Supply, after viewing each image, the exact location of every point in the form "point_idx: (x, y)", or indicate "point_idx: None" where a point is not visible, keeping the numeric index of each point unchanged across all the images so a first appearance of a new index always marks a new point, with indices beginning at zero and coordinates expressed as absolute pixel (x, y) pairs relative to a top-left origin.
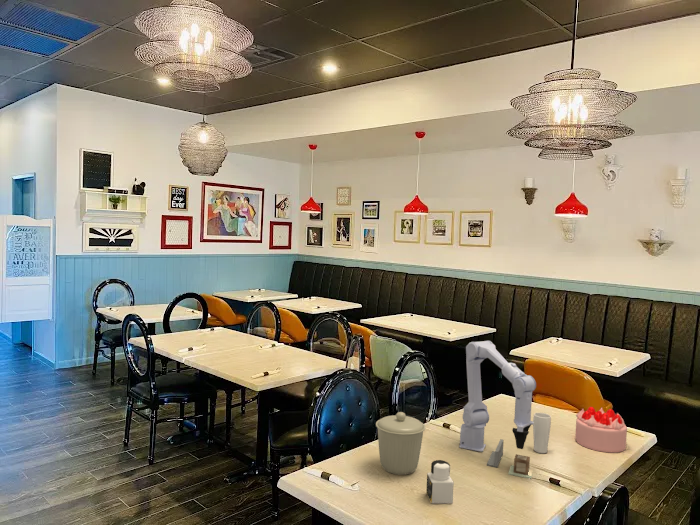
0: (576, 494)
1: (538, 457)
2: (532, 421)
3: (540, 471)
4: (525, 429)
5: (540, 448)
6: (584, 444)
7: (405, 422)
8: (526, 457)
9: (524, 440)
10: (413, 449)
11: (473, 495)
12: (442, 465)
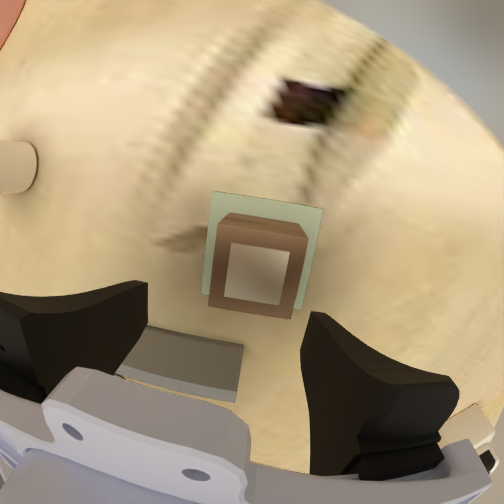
0: (399, 52)
1: (68, 169)
2: (65, 434)
3: (212, 156)
4: (85, 340)
5: (25, 166)
6: None
7: None
8: (246, 247)
9: (373, 352)
10: None
11: (455, 381)
12: (494, 469)
